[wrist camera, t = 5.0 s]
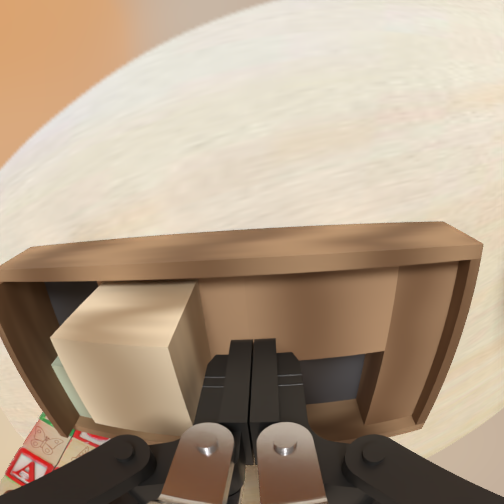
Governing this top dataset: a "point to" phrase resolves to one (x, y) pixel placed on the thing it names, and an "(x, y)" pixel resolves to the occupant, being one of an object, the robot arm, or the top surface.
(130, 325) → the beech block
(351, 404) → the board
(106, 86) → the top surface
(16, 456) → the stack of blocks
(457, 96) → the top surface
